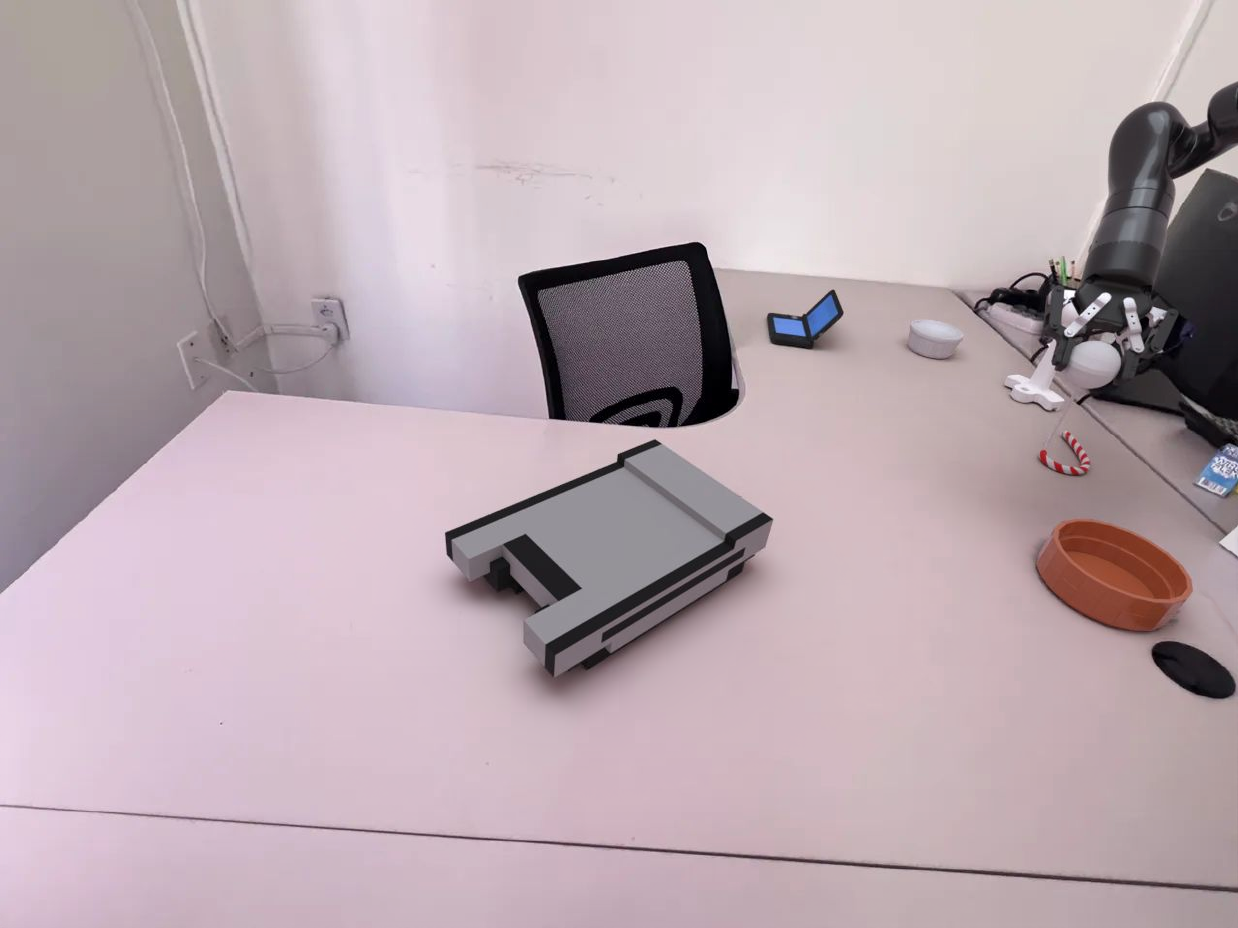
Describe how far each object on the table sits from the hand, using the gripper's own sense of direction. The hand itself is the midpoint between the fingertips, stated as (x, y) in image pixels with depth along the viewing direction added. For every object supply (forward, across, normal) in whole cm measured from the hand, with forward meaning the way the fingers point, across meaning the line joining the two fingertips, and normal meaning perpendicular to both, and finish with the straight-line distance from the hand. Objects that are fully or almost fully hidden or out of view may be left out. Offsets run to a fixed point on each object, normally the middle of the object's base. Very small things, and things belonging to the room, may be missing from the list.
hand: (1090, 375), depth 80 cm
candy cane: (-3, +10, +38) cm, 40 cm away
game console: (-20, -41, +55) cm, 72 cm away
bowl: (+23, +11, +12) cm, 28 cm away
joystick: (-17, +6, +53) cm, 56 cm away
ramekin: (-26, -13, +62) cm, 69 cm away
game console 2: (+43, -46, -9) cm, 64 cm away
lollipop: (+7, 0, +9) cm, 12 cm away
